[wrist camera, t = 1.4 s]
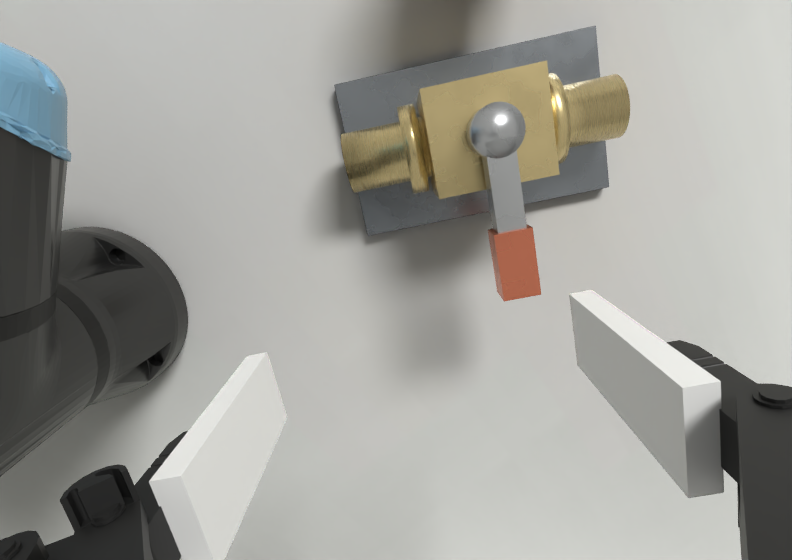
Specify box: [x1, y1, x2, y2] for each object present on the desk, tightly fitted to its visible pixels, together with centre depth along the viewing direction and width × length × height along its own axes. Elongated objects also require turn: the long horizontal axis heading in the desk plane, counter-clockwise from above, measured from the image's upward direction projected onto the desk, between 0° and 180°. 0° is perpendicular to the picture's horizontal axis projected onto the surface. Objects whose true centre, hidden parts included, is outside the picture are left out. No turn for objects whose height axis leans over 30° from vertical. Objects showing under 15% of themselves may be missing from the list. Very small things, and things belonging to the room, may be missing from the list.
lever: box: [466, 102, 541, 301], centre depth 29 cm, size 12×3×3 cm, turn 11°
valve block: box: [334, 26, 630, 236], centre depth 33 cm, size 20×12×8 cm, turn 102°
